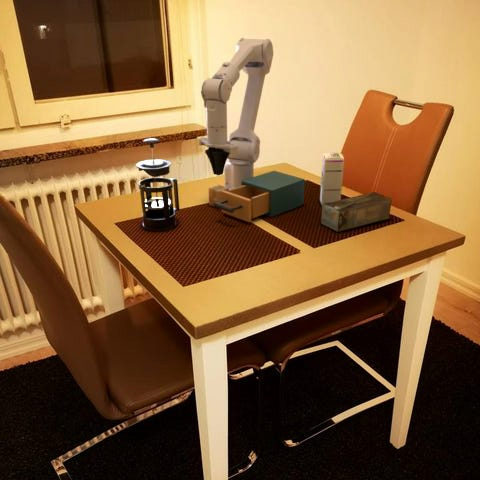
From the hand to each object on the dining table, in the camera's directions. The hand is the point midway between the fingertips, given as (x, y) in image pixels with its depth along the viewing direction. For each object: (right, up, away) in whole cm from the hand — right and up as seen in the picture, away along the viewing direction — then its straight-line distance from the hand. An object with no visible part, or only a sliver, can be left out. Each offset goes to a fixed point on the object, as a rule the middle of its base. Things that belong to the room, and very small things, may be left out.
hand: (218, 174), depth 146 cm
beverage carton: (+39, -16, -7) cm, 42 cm away
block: (0, -8, +5) cm, 9 cm away
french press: (-16, -16, -8) cm, 24 cm away
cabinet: (+16, -8, +4) cm, 19 cm away
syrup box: (+34, -7, +6) cm, 35 cm away
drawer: (+8, -12, -3) cm, 15 cm away
